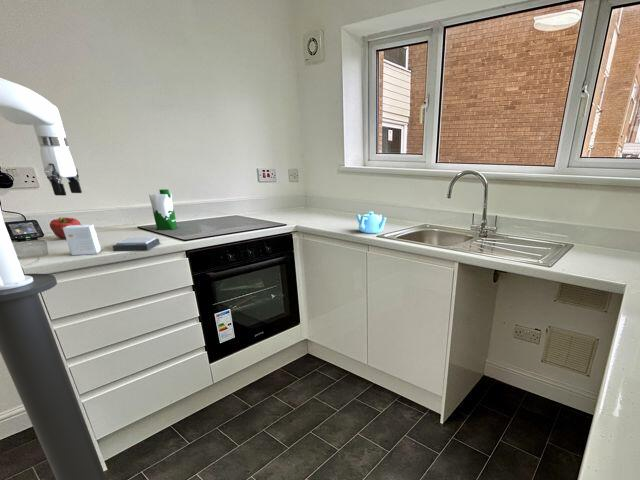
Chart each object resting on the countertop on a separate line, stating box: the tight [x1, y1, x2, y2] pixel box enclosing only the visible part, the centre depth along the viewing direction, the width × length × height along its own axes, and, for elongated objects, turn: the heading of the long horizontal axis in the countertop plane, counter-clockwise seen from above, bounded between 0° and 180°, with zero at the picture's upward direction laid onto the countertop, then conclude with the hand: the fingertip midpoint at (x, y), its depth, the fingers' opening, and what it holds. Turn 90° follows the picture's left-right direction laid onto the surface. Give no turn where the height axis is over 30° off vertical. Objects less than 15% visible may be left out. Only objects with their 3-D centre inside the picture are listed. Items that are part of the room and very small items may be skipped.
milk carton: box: [148, 188, 178, 231], centre depth 183 cm, size 9×9×20 cm
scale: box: [112, 236, 161, 252], centre depth 147 cm, size 13×12×3 cm
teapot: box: [355, 211, 387, 234], centre depth 197 cm, size 15×15×11 cm
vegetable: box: [49, 216, 82, 239], centre depth 156 cm, size 11×10×10 cm
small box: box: [63, 224, 102, 256], centre depth 134 cm, size 8×6×10 cm
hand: (69, 194), depth 128 cm, fingers open, 9 cm apart
